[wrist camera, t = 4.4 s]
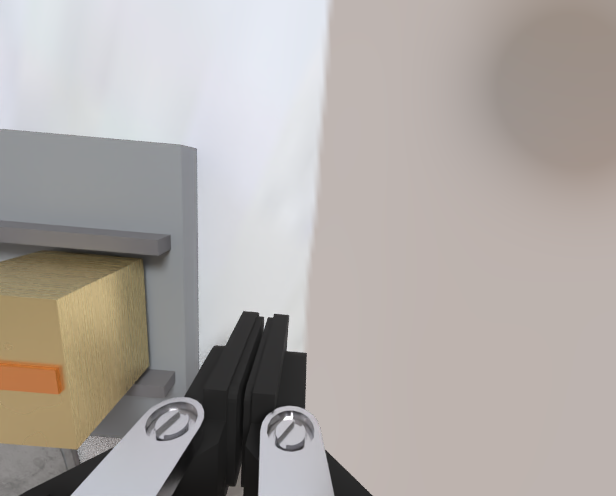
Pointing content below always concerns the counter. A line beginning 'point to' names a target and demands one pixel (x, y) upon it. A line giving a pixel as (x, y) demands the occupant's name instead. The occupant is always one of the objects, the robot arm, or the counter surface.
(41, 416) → the cardboard box
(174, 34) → the counter surface
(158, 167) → the bolt plate
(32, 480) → the cleaver
